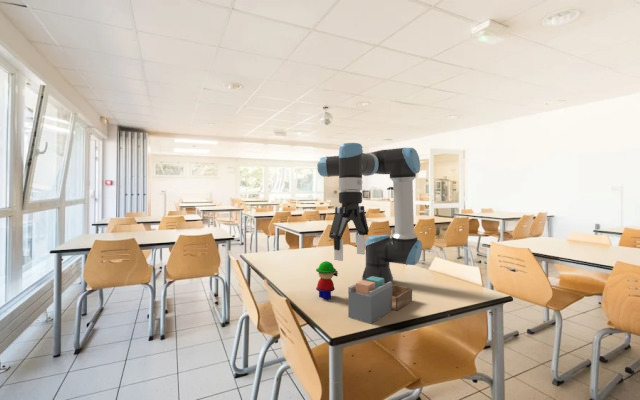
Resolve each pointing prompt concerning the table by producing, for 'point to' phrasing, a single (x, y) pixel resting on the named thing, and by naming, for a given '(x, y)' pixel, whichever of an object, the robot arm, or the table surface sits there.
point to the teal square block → (376, 281)
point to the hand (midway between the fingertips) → (350, 257)
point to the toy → (326, 279)
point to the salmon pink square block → (365, 286)
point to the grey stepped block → (370, 303)
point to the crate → (400, 297)
